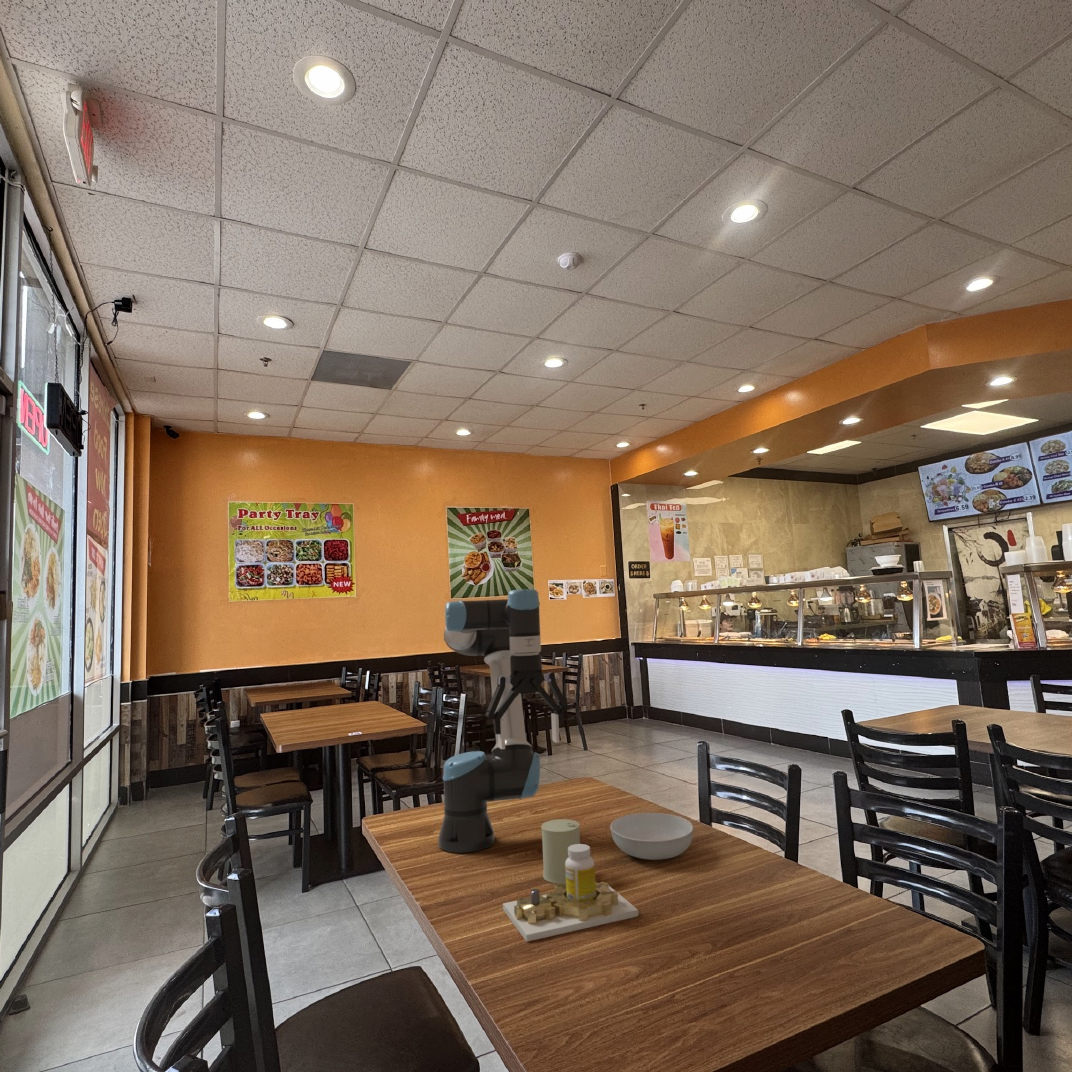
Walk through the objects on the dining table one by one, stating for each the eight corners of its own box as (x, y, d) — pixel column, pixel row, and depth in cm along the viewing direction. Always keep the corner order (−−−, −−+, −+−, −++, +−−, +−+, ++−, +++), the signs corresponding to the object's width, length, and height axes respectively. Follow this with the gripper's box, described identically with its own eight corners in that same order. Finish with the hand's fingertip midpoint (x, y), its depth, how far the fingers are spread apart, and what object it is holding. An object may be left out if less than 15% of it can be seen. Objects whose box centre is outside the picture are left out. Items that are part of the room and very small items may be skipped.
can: (579, 885, 150) (576, 829, 152) (539, 883, 152) (537, 829, 153) (584, 869, 159) (582, 817, 161) (547, 867, 161) (544, 816, 162)
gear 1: (509, 909, 137) (508, 887, 137) (548, 901, 140) (547, 879, 140) (522, 927, 129) (521, 903, 130) (563, 918, 132) (562, 894, 133)
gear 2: (538, 896, 142) (537, 887, 142) (598, 884, 147) (597, 875, 147) (563, 925, 129) (563, 914, 129) (629, 911, 134) (628, 900, 134)
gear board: (503, 909, 140) (502, 903, 140) (605, 888, 148) (605, 882, 148) (526, 941, 126) (526, 935, 126) (638, 916, 134) (638, 909, 134)
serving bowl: (601, 864, 162) (600, 835, 163) (623, 836, 181) (622, 809, 182) (687, 873, 154) (685, 843, 155) (700, 842, 173) (699, 815, 174)
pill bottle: (599, 898, 140) (597, 843, 141) (592, 911, 134) (589, 854, 135) (571, 895, 142) (569, 841, 143) (563, 907, 136) (560, 851, 137)
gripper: (479, 658, 151) (482, 754, 149) (579, 651, 160) (583, 741, 157) (471, 656, 158) (473, 748, 156) (567, 650, 167) (571, 736, 164)
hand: (529, 745), depth 157 cm, fingers open, 13 cm apart
